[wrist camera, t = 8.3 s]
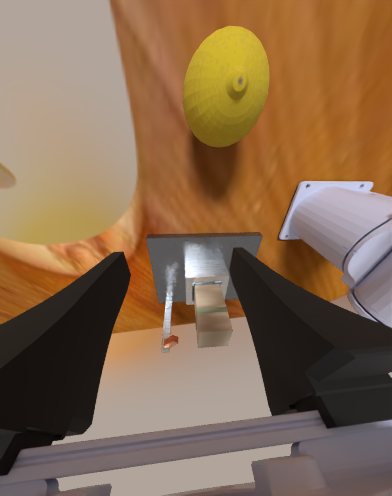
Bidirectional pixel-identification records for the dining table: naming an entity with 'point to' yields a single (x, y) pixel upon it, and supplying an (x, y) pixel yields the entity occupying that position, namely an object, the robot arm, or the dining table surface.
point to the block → (211, 316)
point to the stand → (193, 267)
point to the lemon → (226, 86)
